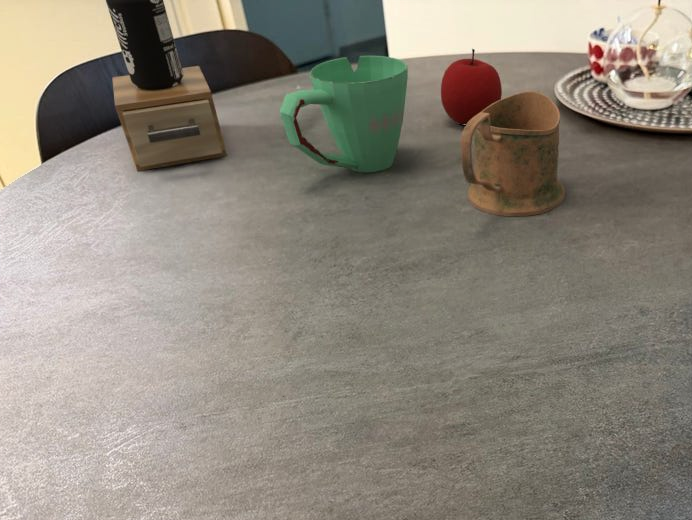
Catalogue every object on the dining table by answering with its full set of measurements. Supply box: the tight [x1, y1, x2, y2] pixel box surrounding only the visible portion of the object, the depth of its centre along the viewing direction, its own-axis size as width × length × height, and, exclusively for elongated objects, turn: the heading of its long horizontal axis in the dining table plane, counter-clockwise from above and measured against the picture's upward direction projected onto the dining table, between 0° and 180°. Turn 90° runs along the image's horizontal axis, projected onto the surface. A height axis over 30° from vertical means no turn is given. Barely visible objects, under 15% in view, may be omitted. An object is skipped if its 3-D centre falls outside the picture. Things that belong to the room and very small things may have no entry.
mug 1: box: [279, 55, 409, 173], centre depth 87 cm, size 18×12×12 cm
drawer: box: [123, 99, 222, 167], centre depth 93 cm, size 17×10×7 cm, turn 24°
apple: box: [440, 48, 503, 125], centre depth 101 cm, size 9×9×10 cm
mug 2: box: [460, 90, 566, 217], centre depth 78 cm, size 12×18×12 cm, turn 152°
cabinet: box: [111, 65, 228, 172], centre depth 96 cm, size 14×12×9 cm
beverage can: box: [105, 0, 183, 90], centre depth 90 cm, size 7×7×12 cm
